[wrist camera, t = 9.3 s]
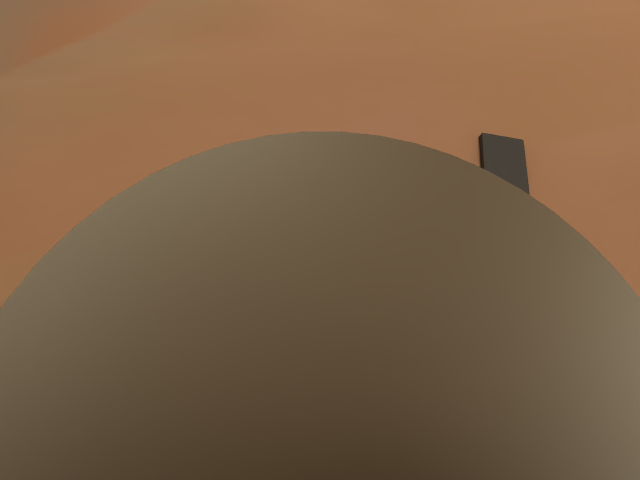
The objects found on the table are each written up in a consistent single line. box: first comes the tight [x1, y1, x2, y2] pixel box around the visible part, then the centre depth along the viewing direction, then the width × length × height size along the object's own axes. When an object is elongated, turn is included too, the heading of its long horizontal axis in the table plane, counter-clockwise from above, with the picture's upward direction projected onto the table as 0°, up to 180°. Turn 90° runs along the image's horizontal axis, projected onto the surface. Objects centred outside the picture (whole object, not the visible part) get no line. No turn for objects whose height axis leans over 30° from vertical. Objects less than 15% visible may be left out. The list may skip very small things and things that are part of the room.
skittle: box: [0, 132, 640, 480], centre depth 9 cm, size 5×5×13 cm
